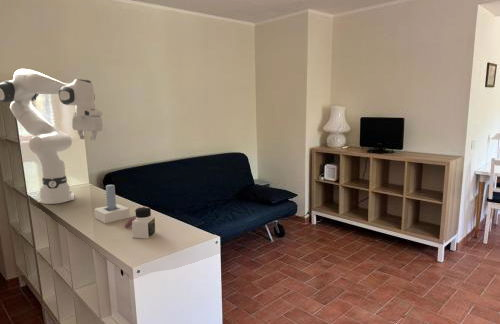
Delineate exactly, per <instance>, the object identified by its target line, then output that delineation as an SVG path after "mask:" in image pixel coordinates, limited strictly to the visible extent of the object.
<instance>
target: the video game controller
mask: <svg viewBox="0 0 500 324" xmlns="http://www.w3.org/2000/svg"><path fill="white" fill-rule="evenodd" d="M135 219H136V215H132V216H131V217H130V218H129V220H128V221H127V222H126V223H125V225H124V228H125V229H129V228H131V227H132V221H134V220H135Z"/></svg>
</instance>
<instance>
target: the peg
mask: <svg viewBox="0 0 500 324" xmlns="http://www.w3.org/2000/svg"><path fill="white" fill-rule="evenodd" d="M105 195H106V206H107V211H112V210H116V204H117V203H116V200H117V199H116V186H115V184H107V185H105Z"/></svg>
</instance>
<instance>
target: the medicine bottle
mask: <svg viewBox="0 0 500 324" xmlns="http://www.w3.org/2000/svg"><path fill="white" fill-rule="evenodd" d="M151 211H152V210H151V208H150V207H148V206H141V207H140V206H139V207H137V208H136V209H135V211H134V212H135V216H136V219H135V220H134V221H132V226H131V231H132V233H131V234H132V239H143V240H144V239H147V240H148V239H150V238H151V237H153V235H155V233H156V220H155V219H156V218H155V217H154V216H152V213H151Z"/></svg>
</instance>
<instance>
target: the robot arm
mask: <svg viewBox="0 0 500 324" xmlns="http://www.w3.org/2000/svg"><path fill="white" fill-rule="evenodd" d="M39 95H57V96H58V100H59V102H60V103H61V104H63V105H65V106H75V112H74V114H73V115H72V118H71V119H72V125H71V126H72V130H73V131H77V134H78V135H79V139H80V140H85V135H84V131H85V132H91V136H90V140H91V141H96V140H97V134H98V132H102V131H103V119H102V118H103V117H102V115H103V112H102V111H101V110H99V109H97V108H96V104H95V99H96V95H95V87H94V84H93V82H92V80H89V79H84V78H75V79H74V80H73V82H71V83H70V84H69V83H65V82H62V81H61V80H57V79H55V78H52V77H50V76H49V75H45V74H43V73H41V72H39V71H35V70H33V69H29V68H28V69H27V68H19V69H17V70H16V71H15V72H14V73H13V79H12V80H5V81H2V82H0V102H2V103H7V104H8V103H9V104H10V106H9V109H10V111H11V113H12V115H13V117H14V118H15V119H16V120H17V121H18V123H19V124H20V125H21V126H22V127H23V128H24V129H25V131H26V132H27V133H29V134H30V135H32V137H30V139H29V141H28V147H29V150H31V152H32V153H34V154H35V155H36V156H37V158H38V159H39V162H40V165H41V170H42V171H41V172H42V180H41V181H42V185H41V186H40V189H39V190H40V191H39V192H40V193H39V194H40V199H38V200H37V203H42V204H45V205H54V204H56V205H57V204H62V203H66V202H68V201H69V202H70V201H74V200H75V199H76V197H75V194H74V192H72V191H71V189H70V185H69V184H68V181H67V180H68V178H67V175H66V168H65V167H66V166H65V162H64V161H63V160H62V159H60V157H59V155H58V153H59V152H63V151H66V150H67V149H69V148H70V147H71V146H72V142H73V140H72V137H71V136H70V135H69V134H68V133H65V132H63V131H61V130H60V129H58V128H56V127H55V126H54V125H52V124H51V123H50V122H48V121H47V120H46V119H45V118H44V117H43V115H42V114H41V113H40V112H39V111H38V109H36V108H35V106H34V105H33V104H32V102H35V101H36V100H37V98H38V97H39Z"/></svg>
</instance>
